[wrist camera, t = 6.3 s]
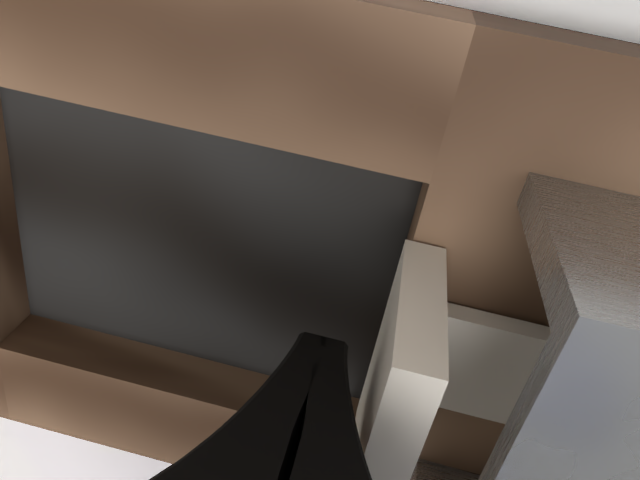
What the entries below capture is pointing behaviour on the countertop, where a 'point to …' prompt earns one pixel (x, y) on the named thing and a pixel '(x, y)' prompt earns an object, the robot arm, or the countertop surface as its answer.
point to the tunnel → (575, 342)
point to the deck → (270, 193)
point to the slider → (436, 364)
